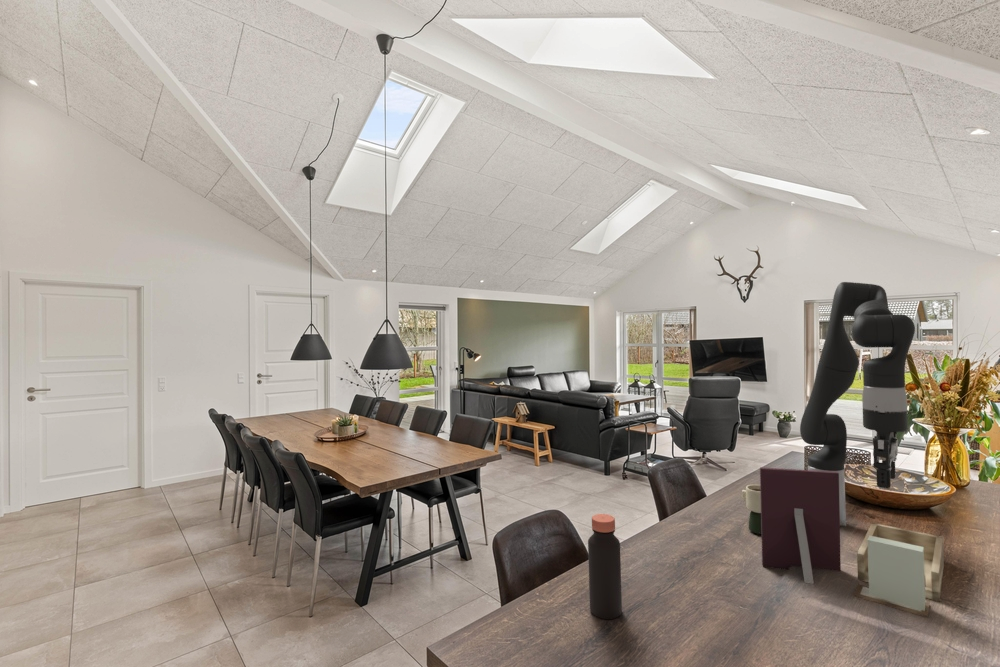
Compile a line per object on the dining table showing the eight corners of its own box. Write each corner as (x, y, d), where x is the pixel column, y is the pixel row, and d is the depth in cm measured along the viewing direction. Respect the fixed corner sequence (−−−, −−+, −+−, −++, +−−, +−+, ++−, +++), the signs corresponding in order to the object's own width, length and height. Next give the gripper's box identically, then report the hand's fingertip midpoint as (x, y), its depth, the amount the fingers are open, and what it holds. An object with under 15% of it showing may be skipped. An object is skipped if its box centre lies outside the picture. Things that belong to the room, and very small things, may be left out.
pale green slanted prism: (869, 595, 103) (867, 539, 104) (871, 589, 106) (869, 535, 106) (924, 611, 97) (922, 552, 97) (925, 604, 99) (923, 547, 99)
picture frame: (839, 573, 116) (835, 470, 116) (854, 594, 107) (850, 482, 107) (762, 564, 121) (759, 466, 121) (770, 584, 112) (766, 477, 112)
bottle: (621, 622, 99) (618, 525, 99) (588, 617, 101) (585, 522, 101) (622, 604, 105) (619, 513, 105) (591, 600, 107) (588, 511, 107)
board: (854, 601, 104) (853, 593, 104) (858, 590, 108) (858, 583, 108) (927, 623, 96) (927, 615, 96) (929, 610, 100) (929, 602, 100)
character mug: (786, 535, 138) (784, 490, 138) (771, 541, 134) (770, 495, 134) (750, 523, 147) (749, 481, 147) (736, 528, 144) (734, 485, 144)
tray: (857, 584, 111) (857, 553, 111) (872, 549, 128) (871, 522, 128) (939, 607, 101) (938, 573, 101) (944, 566, 118) (943, 537, 118)
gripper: (867, 402, 111) (869, 471, 111) (857, 410, 100) (859, 487, 100) (910, 404, 105) (912, 478, 105) (903, 413, 95) (905, 495, 95)
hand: (886, 482), depth 103 cm, fingers open, 8 cm apart
